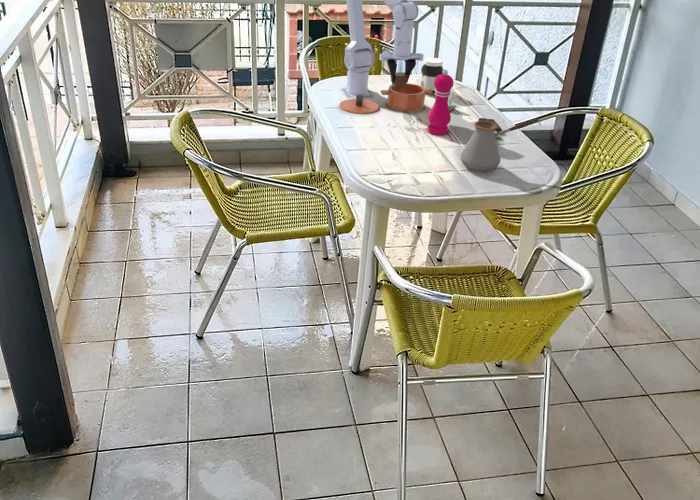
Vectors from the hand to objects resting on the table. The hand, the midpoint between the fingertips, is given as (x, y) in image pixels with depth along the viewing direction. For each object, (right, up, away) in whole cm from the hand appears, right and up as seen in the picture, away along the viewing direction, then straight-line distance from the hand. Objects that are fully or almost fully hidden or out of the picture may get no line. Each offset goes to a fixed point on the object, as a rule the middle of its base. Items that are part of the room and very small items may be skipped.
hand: (399, 81), depth 227 cm
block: (0, -1, +1) cm, 1 cm away
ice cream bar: (+30, -18, -6) cm, 35 cm away
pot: (+3, -6, +10) cm, 12 cm away
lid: (-13, -7, +6) cm, 16 cm away
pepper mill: (+12, -18, -9) cm, 24 cm away
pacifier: (+17, -7, +11) cm, 21 cm away
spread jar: (+15, +2, +26) cm, 30 cm away
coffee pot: (+26, -33, -31) cm, 52 cm away
